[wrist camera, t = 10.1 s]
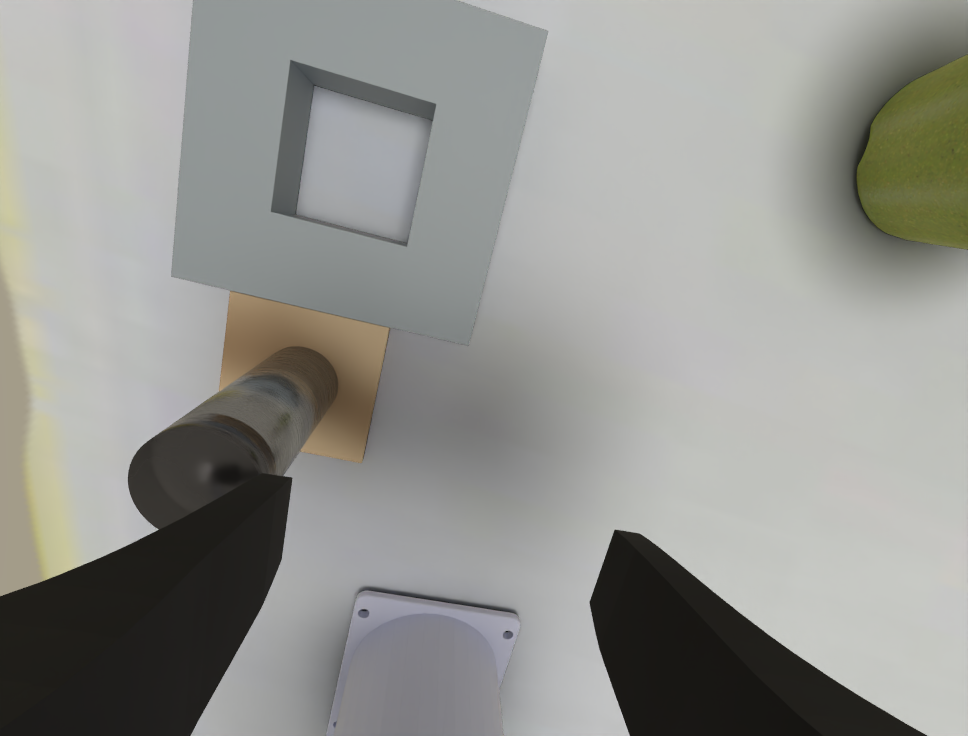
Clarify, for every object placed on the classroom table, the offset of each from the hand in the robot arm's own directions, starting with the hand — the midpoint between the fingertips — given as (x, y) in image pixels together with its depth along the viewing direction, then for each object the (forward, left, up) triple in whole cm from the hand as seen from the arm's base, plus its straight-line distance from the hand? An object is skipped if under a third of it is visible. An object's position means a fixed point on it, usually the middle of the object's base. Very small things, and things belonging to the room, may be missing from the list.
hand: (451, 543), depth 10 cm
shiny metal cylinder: (-1, +6, -10) cm, 11 cm away
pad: (-1, +6, -10) cm, 12 cm away
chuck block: (+13, +5, -10) cm, 17 cm away
